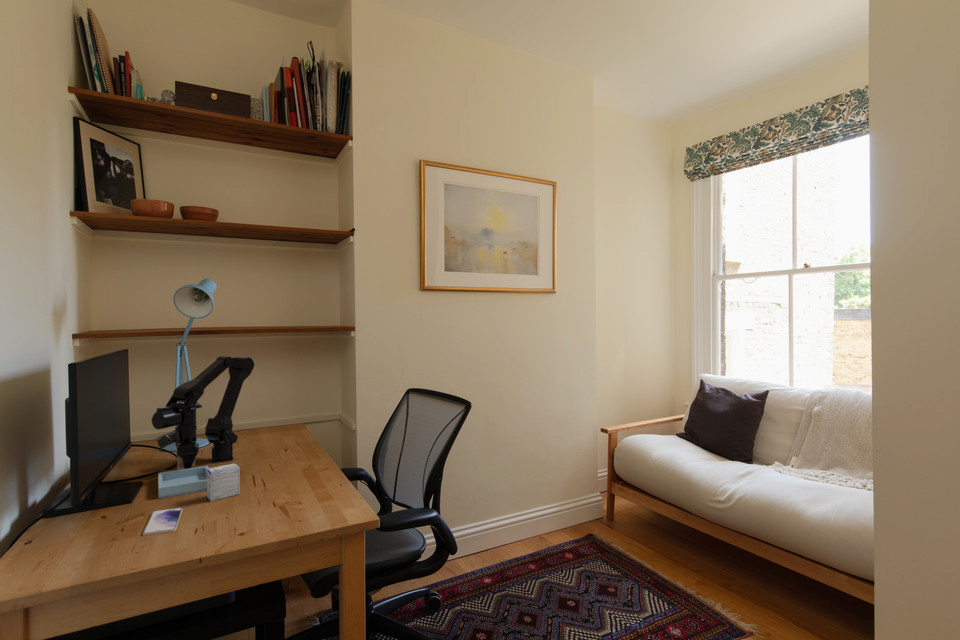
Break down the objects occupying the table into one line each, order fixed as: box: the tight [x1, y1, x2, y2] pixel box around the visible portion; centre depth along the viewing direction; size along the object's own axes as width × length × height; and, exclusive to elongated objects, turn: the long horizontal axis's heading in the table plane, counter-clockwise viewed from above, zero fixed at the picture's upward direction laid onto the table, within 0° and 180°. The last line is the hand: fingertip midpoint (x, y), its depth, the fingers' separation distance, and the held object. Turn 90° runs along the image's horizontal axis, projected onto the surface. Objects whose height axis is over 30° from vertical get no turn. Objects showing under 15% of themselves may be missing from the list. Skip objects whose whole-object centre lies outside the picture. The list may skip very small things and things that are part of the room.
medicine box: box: [206, 463, 241, 502], centre depth 142 cm, size 8×4×9 cm, turn 134°
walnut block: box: [176, 455, 196, 470], centre depth 163 cm, size 5×5×6 cm
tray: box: [157, 465, 210, 499], centre depth 150 cm, size 14×16×3 cm
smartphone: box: [142, 507, 183, 537], centre depth 125 cm, size 7×1×15 cm
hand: (186, 468), depth 163 cm, fingers open, 9 cm apart
